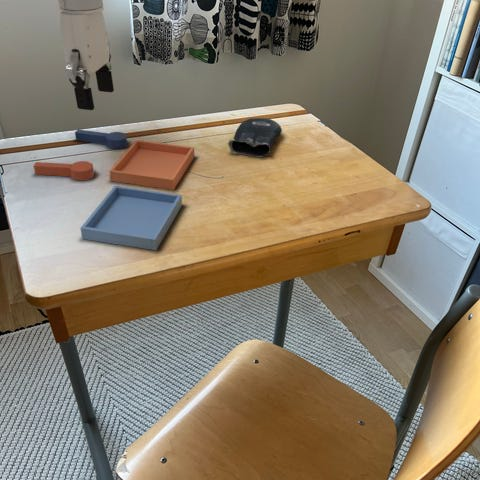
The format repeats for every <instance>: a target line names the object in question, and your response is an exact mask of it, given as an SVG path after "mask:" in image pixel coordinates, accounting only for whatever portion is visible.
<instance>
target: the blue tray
mask: <svg viewBox="0 0 480 480" xmlns="http://www.w3.org/2000/svg"><path fill="white" fill-rule="evenodd" d="M182 206H183V195H182V194H177V193H171V192H163V191H155V190H149V189H143V188H135V187H128V186H123V185H113V187H112V188H111V190H109V192H108V193H107V194H106V196H105V197H104V198H103V199H102V201H101V202H100V203H99V204H98V206H97V207H96V208H95V210H94V211H93V212H92V213H91V214H90V215H89V216H88V218H86V221H85V222H83V224H82V225H81V227H79V228H80V233H81V238H82V240H89V241H94V242H101V243H106V244H114V245H120V246H126V247H133V248H139V249H145V250H152V251H157V250H158V248H159V246H160V244H161V243H162V241H163V240H164V237H165V236H166V234H167V233H168V231H169V229H170V227H171V226H172V224H173V222H174V220H175V218H176V217H177V216H178V213H179V211H180V210H181V208H182Z"/></svg>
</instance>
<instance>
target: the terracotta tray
mask: <svg viewBox="0 0 480 480" xmlns="http://www.w3.org/2000/svg"><path fill="white" fill-rule="evenodd" d="M194 158H195V147H193V146H186V145H178V144H172V143H163V142H155V141H148V140H140V139H136V140H135V141H134V142H133V143H132V144H131V145H130V146H129V148H127V150H126V151H125V152H124V153H123V154H122V155H121V156H120V157H119V159H118V160H117V161H116V163H115V164H114V165H113V166H112V167H111V169H109V171H108V172H109V178H110V181H111V182H117V183H122V184H130V185H137V186H144V187H150V188H157V189H158V188H159V189H165V190H172V191H174V190H175V189H176V187H177V185H178V184H179V182H180V181H181V179H182V178H183V176H184V174H185V172H186V171H187V169H188V168H189V166H190V164H191V163H192V162H193V160H194Z"/></svg>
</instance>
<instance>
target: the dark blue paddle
mask: <svg viewBox="0 0 480 480" xmlns="http://www.w3.org/2000/svg"><path fill="white" fill-rule="evenodd" d="M74 135H75V141H76V142H82V143H83V142H84V143H89V144H90V143H91V144H98V145H99V144H100V145H105V146H107V147H108V148H110V149H114V150H119V149H123V148H126V147H127V146H128V137H127V134H126V133H124V132H122V131H112V132H103V131H102V132H101V131H93V130H86V129H77V130H75V131H74Z"/></svg>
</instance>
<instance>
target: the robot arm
mask: <svg viewBox="0 0 480 480" xmlns="http://www.w3.org/2000/svg"><path fill="white" fill-rule="evenodd" d="M57 3H58V8H59V11H60V14H59V16H60V20H59V21H60V33H61V43H62V49H63V57H64V62H65V72H66V74H67V76H68V80H69V82H70V83H71V87H72V88H73V90H74V96H75V101H76V106H77V108H78V109H79V110H86V111H94V110H95V104H94V102H95V101H94V97H93V91H92V87H89V86H90V79H91V75H93V74H95V78H96V85H97V90H98V91H99V92H103V93H113V92H114V91H115V90H114V89H115V88H114V80H113V75H112V74H113V73H112V63H111V59H112V54H111V42H110V40H109V39H108V32H107V28H106V23H105V18H104V14H103V10H104V3H103V0H57ZM81 76H83V79H82V77H81Z"/></svg>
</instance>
